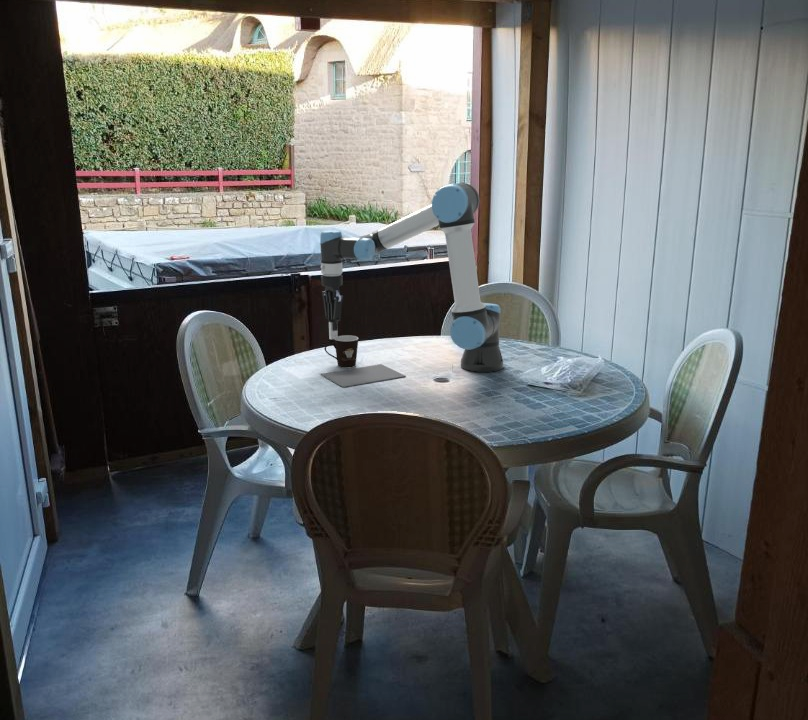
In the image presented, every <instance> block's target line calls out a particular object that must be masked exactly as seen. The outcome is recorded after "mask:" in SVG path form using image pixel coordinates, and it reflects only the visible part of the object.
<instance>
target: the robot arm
mask: <svg viewBox="0 0 808 720" xmlns="http://www.w3.org/2000/svg"><path fill="white" fill-rule="evenodd" d="M479 206H480V195H479V193H478V191H477V189H476V188H475V187H474V186H473V185H472V184H470V183H466V182H458V183H449V184H446V185H444V186H442V187H440V188H439V189H438V190H436V192H434V194H433V197H432V199H431V204H429V205H427V206H425V207H423V208H421V209H419V210H416V211H415V212H413V213H410V214H409V215H406V216H404V217H401V218H400V219H398V220H396V221H394V222H392V223H390V224H388V225H386V226H384V227H381V228H380V229H377V230H375V231H372V232H371V233H368V234H366V235H361V236H357V237H354V236H353V237H347V236H343V235H342V231H340V230H334V229H333V230H332V229H331V230H322V231H321V233H320V243H319V246H320V261H321V262H320V266H319V267H320V269H321V273H320V274H321V276H320V277H321V279H320V281H321V286H323V287H325V288H324V291H323V290H322V291H321V296H322V299H323V306H324V307H323V309H324V315H325V319H327V321H328V336H329V338H328V339H329V340H331V341H332V340H334V338H335V337H338V336H339V335H338V332H339V331H338V323H339V321H342V320H341V319H342V316H341V315H342V307H343V300H344V296H343V295H341V294H340V293H341V292H340V291H341V290H340V287H341V286H343V285H344V284H343V283H344V282H343V275H342V274H343V260H344V259H345V260H346V259H347V260H360V261H368V260H369V261H370V260H372V259H373V257H375V255H379V254H381V253H382V252H384V251H386V250H388V249H389V248H392V247H394V246H396V245H398V244H400V243H403V242H405V241H407V240H409V239H411V238H413V237H416V236H418V235H420V234H423V233H426V231H429V230H431V229H433V228H435V227H439V230H440V231H442V233H444V235H445V236H444V237H445V243H446V248H447V249H446V251H447V252H446V253H447V257H448V264H449V272H450V278H451V285H452V286H451V287H452V291H453V292H452V293H453V300H454V306H453V307H452V308H451V311H450V312H451V318H452V322H451V324H450V328H449V335H450V338H451V340H452V342H453V343H454V345H456V346H457V347H458V348H460V349H463V353H462V357H461V359H460V367H461V369H463V368H464V369H463V370H465V371H469V370H470V371H469V372H474V371H477V372H476V373H492V372H493V371H494V372H498V371H500V370H503V368H504V358H503V355H502V352H501V349H500V329H501V328H500V327H501V326H500V325H501V307H500V305H499V304H497V303H488V302H482V300H481V295H480V288H479V279H478V272H477V267H476V258H475V250H474V243H473V236H472V235H473V234H472V229H473V226H474V225H475V224H476V223H475V216H474V214H475V213H476V211H478V208H479Z"/></svg>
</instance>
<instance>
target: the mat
mask: <svg viewBox="0 0 808 720" xmlns="http://www.w3.org/2000/svg"><path fill="white" fill-rule="evenodd" d="M320 376H321V377H323V376H324V377H323V378H325V379H327V380H329V381H330V380H331V381H330V382H333V383H334V384H335V383H336V385H337V384H338V385H337V386H339V385H340V386H339V387H341V388H342V387H345V388H348V387H347V386H351V387H355V386H354V385H356V386H361V385H360V384H362V385H366V383H368V384H373V382H374V383H378V382H379V381H380V382H384V380H385V381H391V380H396V379H403V378H406V377H407V376H406V375H405V374H403V373H401V372H399V371H397V370H394V369H392V368H390V367H388V366H386V365H384V364H382V363H380V364H374V365H373V364H372V365H367V366H361V367H355V368H354V367H353V368H347V369H344V370H343V369H342V370H336V371H330V372H323V373H320Z"/></svg>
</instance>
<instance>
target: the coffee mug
mask: <svg viewBox="0 0 808 720" xmlns="http://www.w3.org/2000/svg"><path fill="white" fill-rule="evenodd" d="M333 341H334V343H333V342H328V343H327V344H325V346H324V351H325V353H326V354H327V355H328V356H330V357H332V358H333V359H335V360H336V361H337V362H336V363H337V366H338V367H339V368H342V367H351V368H354V367H353V366H355V365H356V366H357V364H356V363H357V356H358V354H357V353H358V346H359V337H358V336H356V335H338V337H335V338H334V339H333ZM330 345H332V346H333V348H334V350H335V353H336V356H335V355H332V354H331V353H329V352H328V351H327V347H328V346H330ZM356 366H355V367H356Z"/></svg>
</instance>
